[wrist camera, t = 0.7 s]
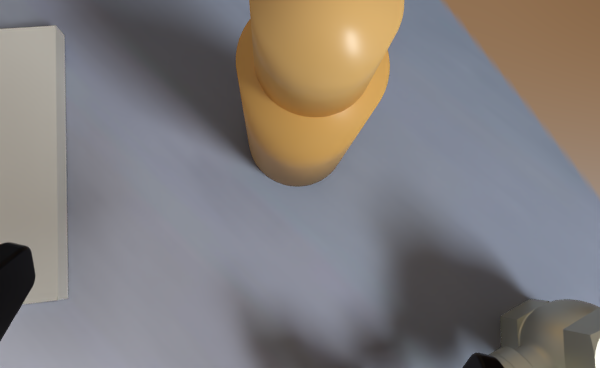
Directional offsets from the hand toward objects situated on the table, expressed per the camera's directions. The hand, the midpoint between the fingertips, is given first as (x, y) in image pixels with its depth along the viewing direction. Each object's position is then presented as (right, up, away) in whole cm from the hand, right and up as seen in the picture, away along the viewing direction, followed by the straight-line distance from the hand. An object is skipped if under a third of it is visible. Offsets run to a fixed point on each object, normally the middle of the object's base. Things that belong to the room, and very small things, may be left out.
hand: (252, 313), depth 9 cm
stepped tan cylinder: (+1, +5, +15) cm, 15 cm away
